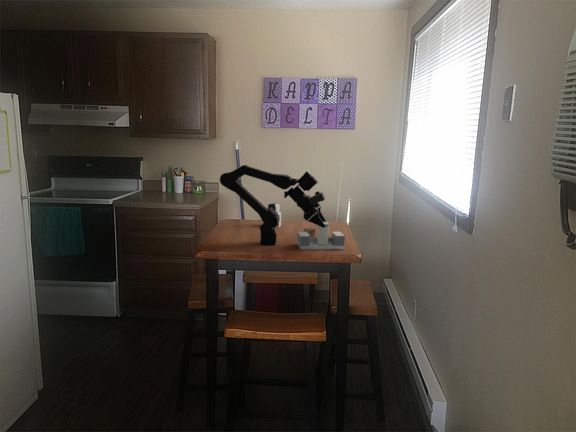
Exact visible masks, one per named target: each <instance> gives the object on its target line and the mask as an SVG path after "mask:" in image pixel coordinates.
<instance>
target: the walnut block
mask: <svg viewBox="0 0 576 432" xmlns="http://www.w3.org/2000/svg"><path fill="white" fill-rule="evenodd" d="M303 232H307V233H308V234H309V235H310V237H316V229H315V228H314V227H313V228H312V227H305V228H303Z"/></svg>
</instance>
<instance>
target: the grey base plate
mask: <svg viewBox="0 0 576 432" xmlns="http://www.w3.org/2000/svg"><path fill="white" fill-rule="evenodd" d="M296 245H297V246H298V248H299V250H345V244H344V245H337V246H336V245H335V244H334V243H333V242H332V236H328V244H327V245H325V244H318V236H315V237H310V246H300V245H299V243H298V236H297V237H296Z"/></svg>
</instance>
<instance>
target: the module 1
mask: <svg viewBox="0 0 576 432" xmlns="http://www.w3.org/2000/svg"><path fill="white" fill-rule="evenodd" d="M297 237H298V243H299V245H300V246H310V235H309V234H308V233H307V232H304V231H297Z"/></svg>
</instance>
